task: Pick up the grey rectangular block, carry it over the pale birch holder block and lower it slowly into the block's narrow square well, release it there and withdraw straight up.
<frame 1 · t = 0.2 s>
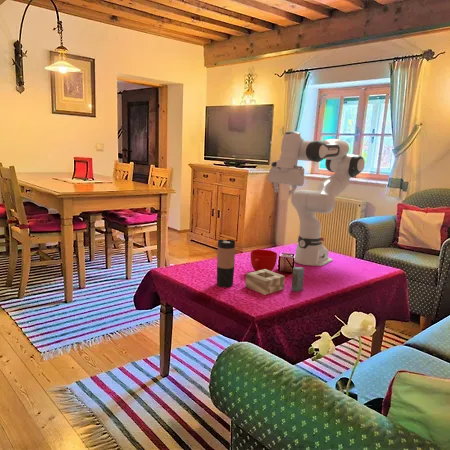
hand: (283, 193, 197), 39 cm above the table, tool pointing down, fingers open, 8 cm apart
well block: (264, 287, 177), on the table
ceramic cup: (261, 274, 197), on the table
grey rectangular block: (296, 290, 176), on the table
travel mug: (224, 285, 179), on the table
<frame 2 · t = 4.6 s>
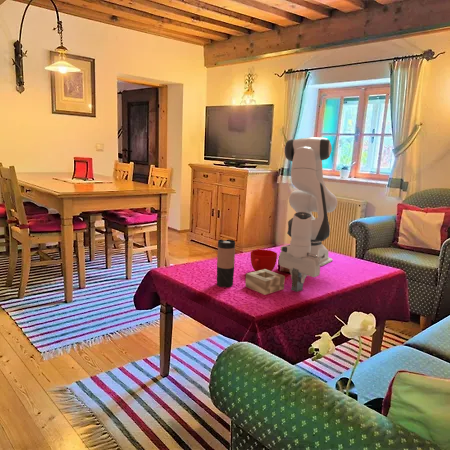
hand: (297, 281, 175), 4 cm above the table, tool pointing down, fingers closed on grey rectangular block, 3 cm apart
grey rectangular block: (296, 290, 176), on the table, touching gripper
everything else where it was.
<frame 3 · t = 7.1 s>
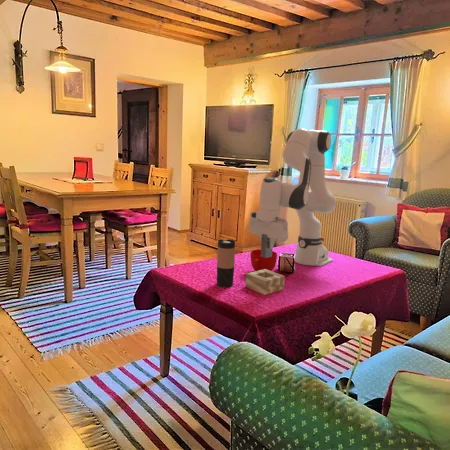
hand: (267, 247, 173), 19 cm above the table, tool pointing down, fingers closed on grey rectangular block, 3 cm apart
grey rectangular block: (266, 256, 174), point 14 cm above the table, touching gripper
everything else where it was.
when the fingers open (7 cm above the table, at t = 9.6 s): grey rectangular block drops 2 cm, resting in well block.
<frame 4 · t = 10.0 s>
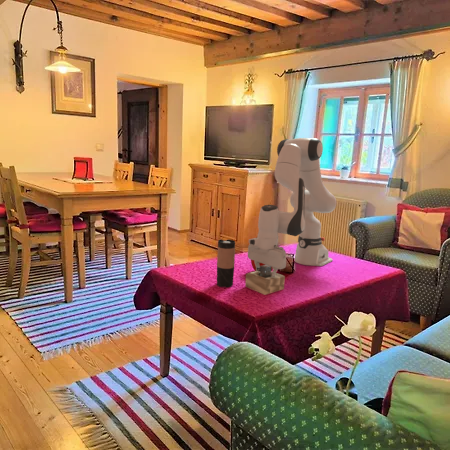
hand: (265, 273, 176), 7 cm above the table, tool pointing down, fingers open, 7 cm apart
grey rectangular block: (264, 287, 177), resting in well block
everything else where it was.
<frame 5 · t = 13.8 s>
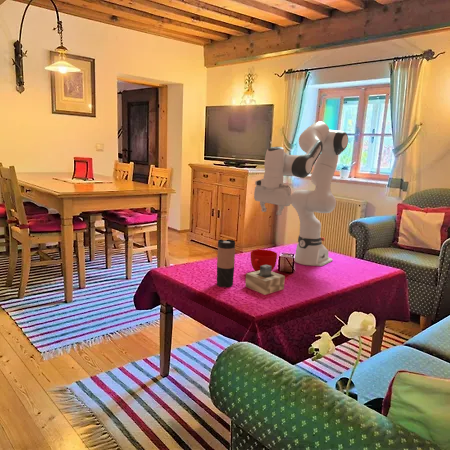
hand: (271, 213, 185), 31 cm above the table, tool pointing down, fingers open, 8 cm apart
nothing on the table moved.
at the end: grey rectangular block 0.1 cm off-centre on the well block, point 0.0 cm above the well block's base; the gripper is holding nothing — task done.
